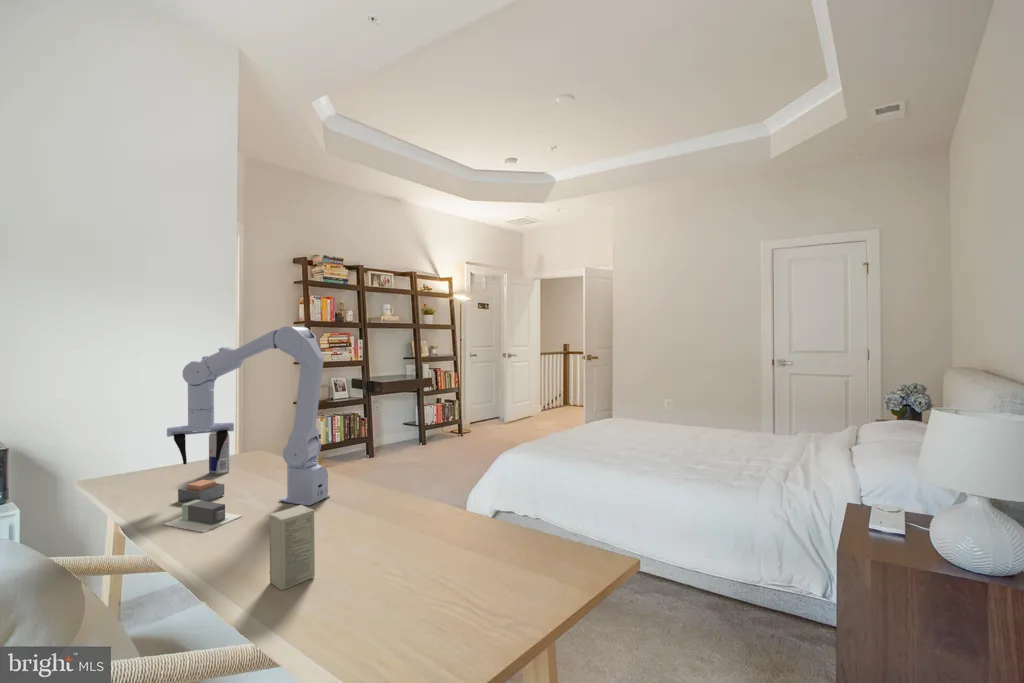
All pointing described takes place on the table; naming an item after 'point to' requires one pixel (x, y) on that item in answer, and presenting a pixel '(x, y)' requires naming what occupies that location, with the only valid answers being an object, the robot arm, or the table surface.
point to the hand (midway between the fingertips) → (201, 461)
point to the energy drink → (223, 462)
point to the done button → (201, 485)
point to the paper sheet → (200, 526)
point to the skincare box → (291, 546)
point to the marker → (203, 511)
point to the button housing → (201, 493)
